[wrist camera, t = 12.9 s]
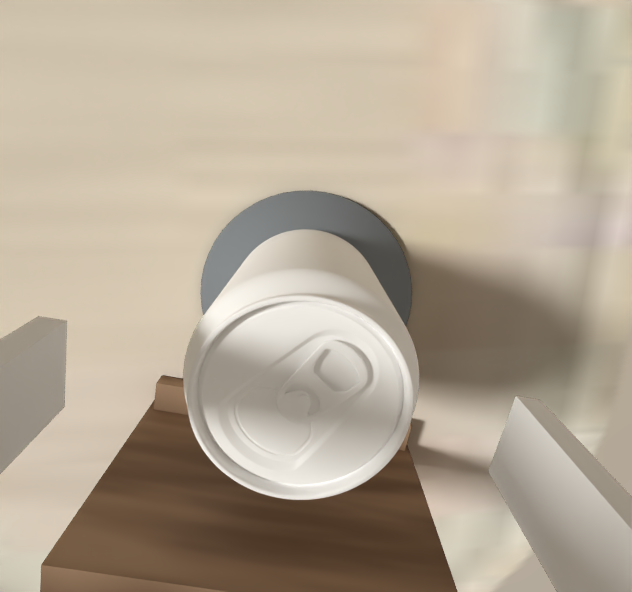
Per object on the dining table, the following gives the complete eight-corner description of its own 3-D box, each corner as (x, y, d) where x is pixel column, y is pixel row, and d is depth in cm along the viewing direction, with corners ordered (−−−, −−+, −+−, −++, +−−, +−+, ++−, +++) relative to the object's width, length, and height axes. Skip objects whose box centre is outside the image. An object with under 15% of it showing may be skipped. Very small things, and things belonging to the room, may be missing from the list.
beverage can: (205, 296, 26) (116, 400, 14) (308, 195, 24) (304, 220, 13) (303, 389, 27) (296, 553, 16) (406, 301, 26) (482, 409, 14)
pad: (216, 170, 24) (215, 171, 24) (433, 213, 25) (435, 214, 24) (191, 372, 27) (189, 375, 27) (383, 405, 28) (384, 408, 28)
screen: (157, 374, 27) (42, 525, 16) (413, 418, 28) (482, 590, 17) (149, 445, 29) (38, 632, 17) (394, 484, 30) (446, 687, 18)
